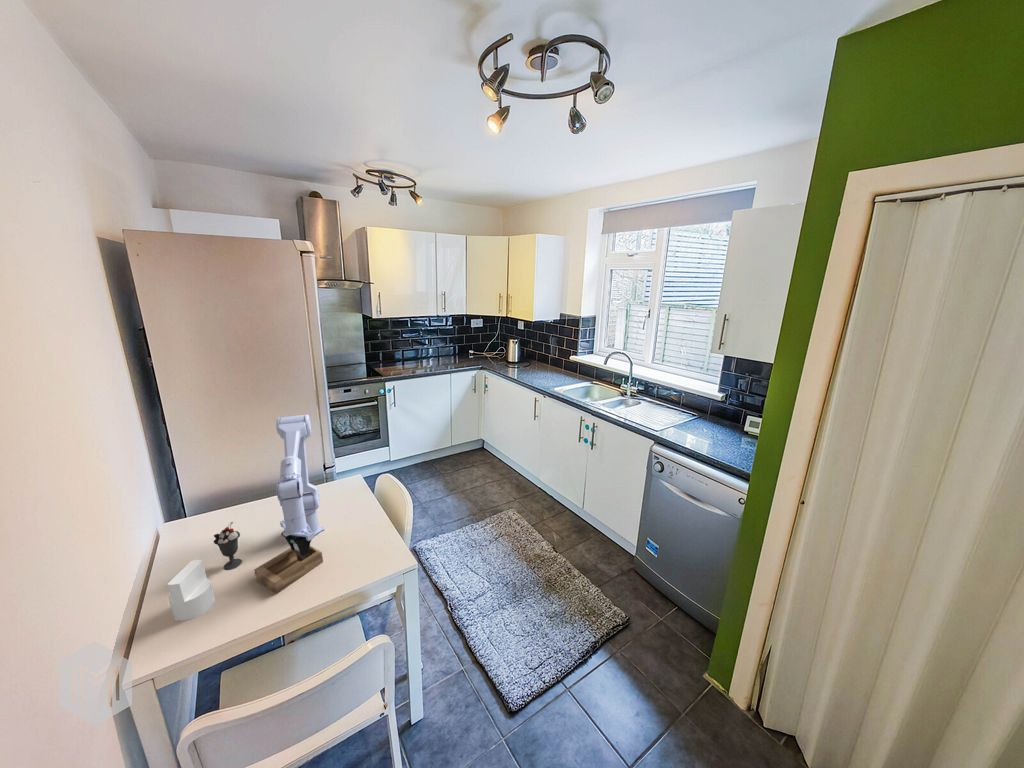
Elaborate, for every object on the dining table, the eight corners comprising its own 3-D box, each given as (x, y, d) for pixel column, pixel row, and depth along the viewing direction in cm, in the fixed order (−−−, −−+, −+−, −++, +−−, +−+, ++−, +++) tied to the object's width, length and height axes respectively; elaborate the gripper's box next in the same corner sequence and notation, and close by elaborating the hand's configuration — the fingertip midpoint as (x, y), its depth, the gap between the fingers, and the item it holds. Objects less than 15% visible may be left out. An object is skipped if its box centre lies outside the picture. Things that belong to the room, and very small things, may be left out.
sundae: (250, 559, 124) (242, 520, 120) (229, 574, 118) (220, 533, 114) (236, 554, 126) (227, 516, 122) (215, 568, 120) (205, 528, 116)
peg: (292, 559, 121) (287, 539, 119) (305, 551, 125) (301, 531, 123) (300, 564, 119) (295, 543, 117) (313, 555, 123) (309, 535, 121)
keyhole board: (256, 579, 116) (254, 569, 115) (302, 550, 128) (301, 541, 127) (277, 593, 110) (274, 583, 109) (323, 561, 123) (321, 552, 122)
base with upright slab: (200, 620, 102) (190, 583, 99) (165, 622, 101) (154, 585, 98) (222, 593, 111) (214, 559, 107) (190, 595, 110) (180, 560, 107)
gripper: (268, 514, 118) (274, 551, 121) (296, 529, 111) (302, 567, 115) (290, 503, 124) (296, 538, 127) (317, 516, 117) (323, 553, 121)
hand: (300, 551), depth 121 cm, fingers closed on peg, 4 cm apart
